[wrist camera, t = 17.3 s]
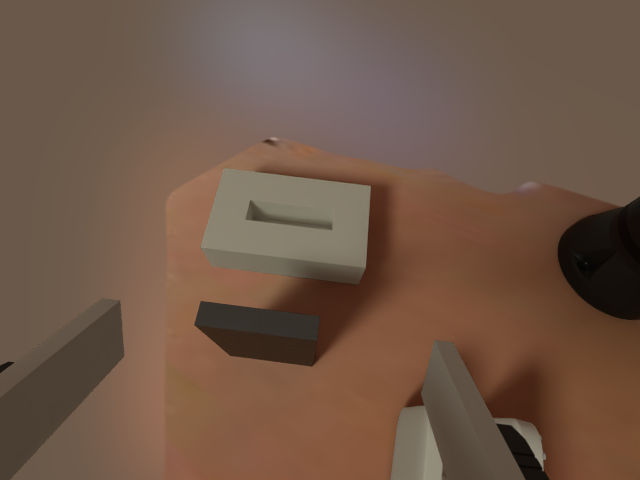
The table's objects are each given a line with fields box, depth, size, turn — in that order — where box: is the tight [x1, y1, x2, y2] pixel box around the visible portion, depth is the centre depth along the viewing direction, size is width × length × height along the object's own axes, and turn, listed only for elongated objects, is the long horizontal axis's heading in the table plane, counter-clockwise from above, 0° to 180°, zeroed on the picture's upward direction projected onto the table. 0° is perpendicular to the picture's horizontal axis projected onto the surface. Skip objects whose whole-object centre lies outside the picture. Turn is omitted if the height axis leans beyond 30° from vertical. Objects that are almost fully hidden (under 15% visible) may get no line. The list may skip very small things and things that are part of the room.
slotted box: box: [201, 168, 371, 285], centre depth 48 cm, size 20×12×6 cm, turn 83°
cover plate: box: [194, 301, 320, 366], centre depth 36 cm, size 10×2×16 cm, turn 83°
